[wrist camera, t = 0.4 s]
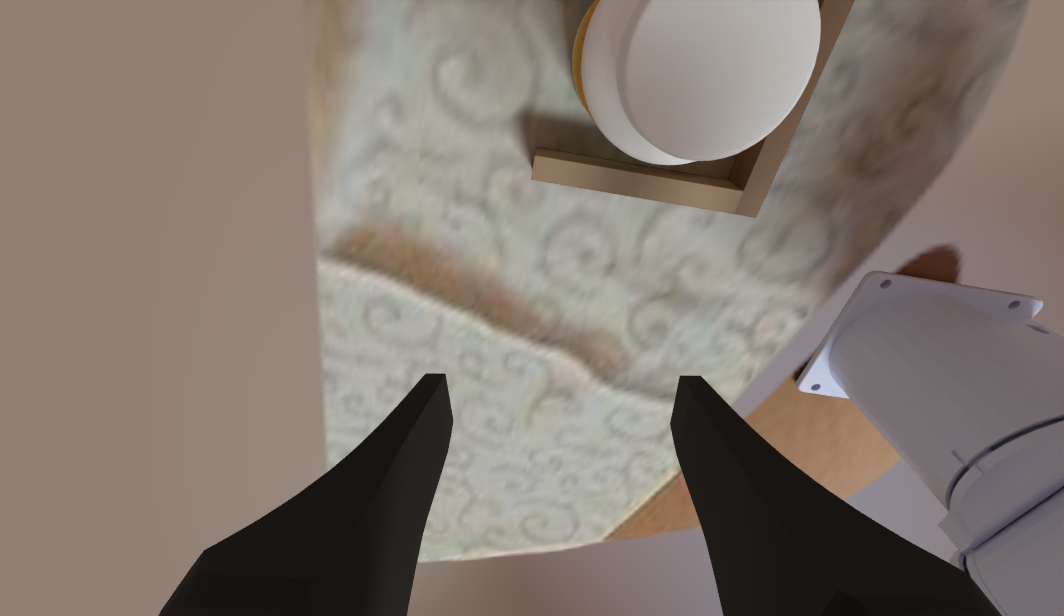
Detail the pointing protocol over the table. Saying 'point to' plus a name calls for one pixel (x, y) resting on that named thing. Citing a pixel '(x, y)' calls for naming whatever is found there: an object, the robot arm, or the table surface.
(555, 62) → the table surface
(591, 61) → the supplement bottle
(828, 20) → the wooden frame
